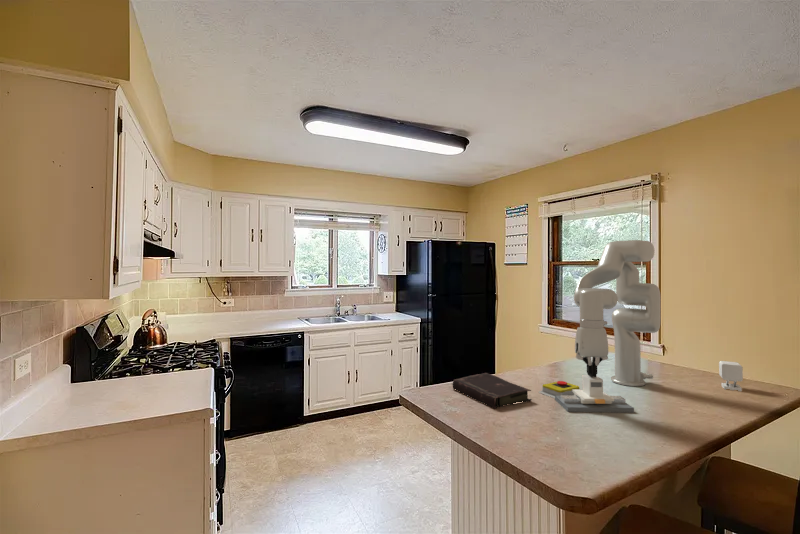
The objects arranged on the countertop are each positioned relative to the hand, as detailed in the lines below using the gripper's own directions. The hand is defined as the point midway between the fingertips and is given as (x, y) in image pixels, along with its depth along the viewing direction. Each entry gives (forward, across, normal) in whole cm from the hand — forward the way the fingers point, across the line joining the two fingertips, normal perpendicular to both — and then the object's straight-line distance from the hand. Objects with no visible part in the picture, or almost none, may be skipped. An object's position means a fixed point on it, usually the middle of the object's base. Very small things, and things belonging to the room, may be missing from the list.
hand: (592, 375), depth 134 cm
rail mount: (+11, 0, 0) cm, 11 cm away
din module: (+6, 0, 0) cm, 6 cm away
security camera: (+10, -65, -22) cm, 70 cm away
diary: (+11, +34, -11) cm, 37 cm away
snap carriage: (+9, 0, 0) cm, 9 cm away
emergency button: (+11, +6, -15) cm, 19 cm away
